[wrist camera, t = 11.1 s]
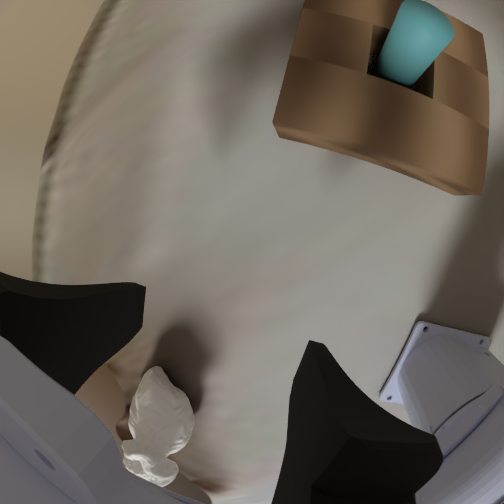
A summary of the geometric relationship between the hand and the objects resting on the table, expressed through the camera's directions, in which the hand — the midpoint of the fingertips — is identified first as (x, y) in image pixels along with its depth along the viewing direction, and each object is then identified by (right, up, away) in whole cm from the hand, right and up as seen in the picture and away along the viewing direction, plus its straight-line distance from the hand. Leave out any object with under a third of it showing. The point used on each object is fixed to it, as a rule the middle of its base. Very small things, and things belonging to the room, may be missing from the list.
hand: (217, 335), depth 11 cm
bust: (-7, -12, +14) cm, 20 cm away
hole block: (+12, +16, +5) cm, 21 cm away
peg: (+12, +16, +5) cm, 21 cm away
